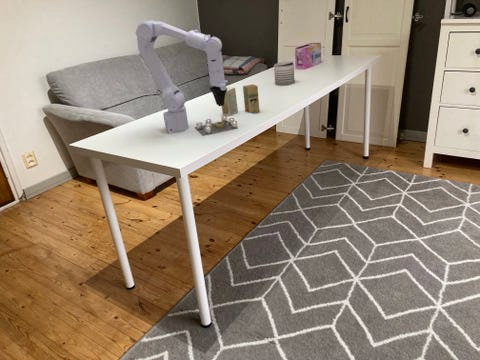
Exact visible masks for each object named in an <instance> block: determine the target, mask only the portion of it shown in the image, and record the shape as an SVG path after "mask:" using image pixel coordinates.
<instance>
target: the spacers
mask: <svg viewBox="0 0 480 360" xmlns="http://www.w3.org/2000/svg"><path fill="white" fill-rule="evenodd" d="M220 119H221V122H222V121H223V122H225V123H227V120H228V121H229V125H230V126H232V129H233V130H237V129H236V128H238V127H239V126H238V121H237V120H235V118H234V117H231V118H228V116H225V115H221V116H220ZM204 121H205V125H206V127H205V132H206V134H210V135H212V134H211V133H212V131H211V130H212V124H213V123H212V119H210V118H207V119H205V120H204ZM195 125H196V127H197V130H202V129H203V122H196V124H195ZM238 129H239V128H238ZM197 130H196V131H197Z"/></svg>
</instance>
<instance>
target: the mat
mask: <svg viewBox="0 0 480 360" xmlns="http://www.w3.org/2000/svg"><path fill="white" fill-rule="evenodd" d="M215 123H216V122H214V123H212V130H211V131H212V133H211V134H206V132H205V127H206V125H203V124H202V126H203V129H202V130H197V126H194V127H193V128H194V129H195V130H196V131H197V132H198V133H199V134H200V135H201V136H202V137H206V136H209V135H210V136H211V135H214V134H219V133H222V132H228V131H233V130H234V129H232V126H230V125H229V120H228V119H227V123H226V126H225V127H224V128H219V129H217V128H215V126H214V124H215ZM238 129H239V128H236V129H235V130H238Z"/></svg>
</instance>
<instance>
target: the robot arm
mask: <svg viewBox="0 0 480 360" xmlns="http://www.w3.org/2000/svg"><path fill="white" fill-rule="evenodd" d="M135 35H136V39H137V49H138V51H139V53H140V55H141V56H142V59H143V61H144V62H145V63H146V65H147V67H148V69H149V70H150V72H151V74H152V76H153V78H154V80H155V81H156V83H157V84H158V86H159V88H160V89H161V92H162V93H161V96H162V98H163V101H164V106H165V108H166V110H167V111H165V112H163V114H162V115H163V120H164V127H165V130H166V132H167V133H168V134H173V133H179V132H185V131H187V130H189V129H190V127H189V122H188V121H189V120H188V116H187V109H186V106H185V104H186V101H187V99H186V95H185V94H184V92H183V91H181V90H180V89H179V87H178V86H176V85H175V84H174V83H173V81H172V79H171V77H170V76H169V74H168V71H167V69H165V67H164V65H163V63H162V61H161V60H160V58H159V56H158V53H156V50H155V49H154V46H155V43H156V40H157V39H158V37H160V36H163V35H165V36H169V37H172V38H174V39H178V40H182V41H184V42H185V43H186V45H187V46H189V47H190V48H194V49H197V50H200V51H204V52H205V53H206V56H207V68H208V74H209V75H208V76H209V85H210V86H211V87H209V90H210V92H211V93H212V95H213V98H214V101H215V104H216V105H217V106H218V107H222V106H223V105H224V100H225V94H226V91H227V84H226V83H229V81H228V80H227V79H225V72H224V62H223V61H224V60H223V54H222V48H223V43H222V41H221V39H220V38H218V37H217V36H212V37H211V35H210V34H204V33H202V32H199V30H198V29H194V30H193V29H191V30H190V31H185V30H183V29H180V28H178V27H175V26H173V25H170V24H168V23H166V22H163V21H158V20H156V19H150V20H149V19H148V20H146V21H140V22H139V23H138V25H137V28H136V30H135Z"/></svg>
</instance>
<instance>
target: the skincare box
mask: <svg viewBox="0 0 480 360" xmlns="http://www.w3.org/2000/svg"><path fill="white" fill-rule="evenodd" d="M226 88H227V91H226V94H225V100H224V105H223V106H221V111H222V116H227V117H231V116H233V115H236V114H238V113H239V109H238V101H237V92H236V87H231V86H226Z"/></svg>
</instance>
